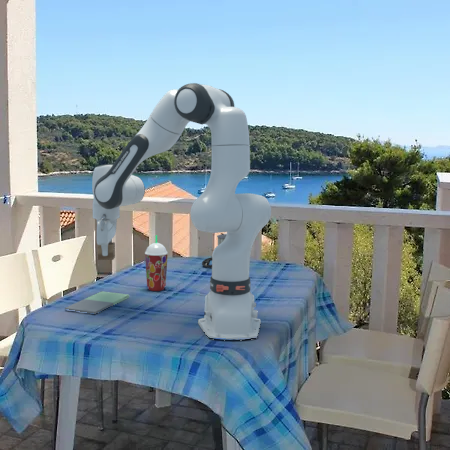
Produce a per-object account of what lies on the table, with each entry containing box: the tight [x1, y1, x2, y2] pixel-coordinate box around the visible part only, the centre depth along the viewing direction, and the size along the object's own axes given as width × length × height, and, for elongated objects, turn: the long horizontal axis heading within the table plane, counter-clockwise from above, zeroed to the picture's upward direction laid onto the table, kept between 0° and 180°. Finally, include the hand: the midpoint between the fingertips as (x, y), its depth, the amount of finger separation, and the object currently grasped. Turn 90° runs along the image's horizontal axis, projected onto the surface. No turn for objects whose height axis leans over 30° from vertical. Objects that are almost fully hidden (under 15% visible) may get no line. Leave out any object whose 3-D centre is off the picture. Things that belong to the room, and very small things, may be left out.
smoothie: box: [144, 234, 169, 292], centre depth 209 cm, size 8×8×20 cm
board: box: [64, 291, 130, 315], centre depth 190 cm, size 22×11×1 cm, turn 161°
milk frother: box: [201, 233, 227, 269], centre depth 245 cm, size 14×16×15 cm
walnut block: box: [97, 241, 116, 261], centre depth 193 cm, size 5×5×5 cm
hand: (106, 253), depth 193 cm, fingers closed on walnut block, 5 cm apart
